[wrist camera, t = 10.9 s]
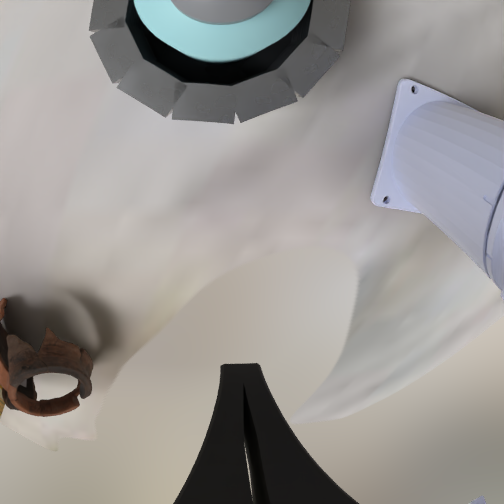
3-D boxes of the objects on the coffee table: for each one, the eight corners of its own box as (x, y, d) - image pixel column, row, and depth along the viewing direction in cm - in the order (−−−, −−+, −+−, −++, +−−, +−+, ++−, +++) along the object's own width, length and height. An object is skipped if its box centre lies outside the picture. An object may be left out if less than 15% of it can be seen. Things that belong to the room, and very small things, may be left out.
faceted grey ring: (329, -42, 10) (358, -66, 7) (302, 122, 15) (326, 137, 12) (137, -60, 9) (117, -89, 5) (112, 107, 14) (82, 119, 10)
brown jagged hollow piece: (4, 265, 18) (7, 348, 14) (95, 298, 26) (124, 369, 21) (-26, 356, 20) (-18, 431, 15) (50, 373, 27) (71, 439, 22)
